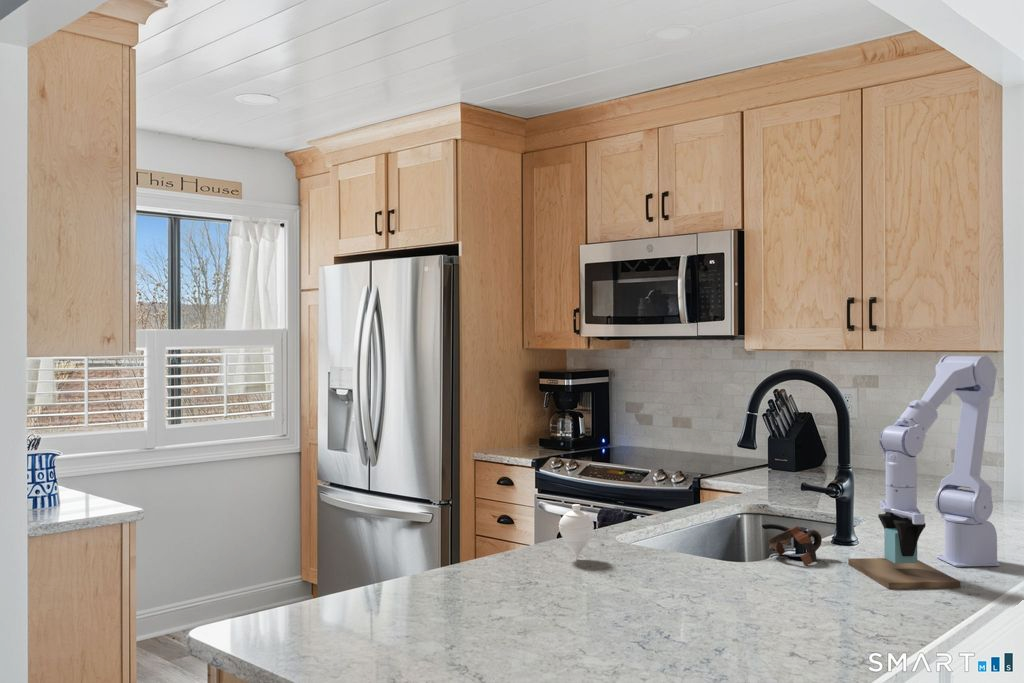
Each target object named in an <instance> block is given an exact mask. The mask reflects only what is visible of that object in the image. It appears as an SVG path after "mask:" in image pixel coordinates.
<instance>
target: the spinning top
mask: <svg viewBox="0 0 1024 683" xmlns="http://www.w3.org/2000/svg"><path fill="white" fill-rule="evenodd" d="M581 506H582V505H581V504H577V503H573V504H571V510H570V511H567V512H566V513H564V514H563V516H562V517H561V518H560V520H559V522H558V529H559V533H560V535H561V537H562V539H563V541H564V543H565V544H566V546H567V547H568V548H569V549H570V551H571V552H572V553H573V554H574V556H575V559H576V558H577V559H578V555H580V554H581V552H582V551H583V550H584V549H585V547H586V545H587V544H588V542H589V541H590V540H591V537H592V536H593V533H594V528H595V525H594V521H593V519H592V518H591V516H590V515H589V514H588V513H587V512H585V511H582V510H581Z"/></svg>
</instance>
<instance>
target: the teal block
mask: <svg viewBox="0 0 1024 683" xmlns="http://www.w3.org/2000/svg"><path fill="white" fill-rule="evenodd" d="M883 529H884V535H883V536H884V558H886V559H888V560H890V561H892V562H893V563H917V560H918V544H917V545H916V549H915V553H914V556H902V554H901V549H900V541H899V535H898V532H897V529H896V528H884V527H883Z"/></svg>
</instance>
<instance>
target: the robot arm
mask: <svg viewBox="0 0 1024 683" xmlns="http://www.w3.org/2000/svg"><path fill="white" fill-rule="evenodd" d="M996 380H997V367H996V365H995V363H994V362H993V360H992V359H991V358H990V357H989V356H987V355H980V356H979V355H976V356H975V355H973V356H972V355H951V354H945V355H943V356H942V357H941V358H940V359H939V361H938V363H936V365H935V377H934V378H933V380H932V381H931V382H930V384H929V386H928V388H927V390H926V391H925V393H924V394H923V396H922V397H921V399H914V400H913V401H910V403H909V404H908V406H907V407H906V409H905V410H904V412H902V414H901V415H900V416H899V417H898V418H897V420H896V421H895V423H894V424H893V425H888V426H886V427H884V428H883V429H882V431H881V433H880V435H879V439H878V440H877V441H878V446H879V449H880V450H881V451H882V459H883V462H884V463H885V500H879V510H880V511H881V512H884V513H879V514H878V519H879V521H880V523H881V525H882V527H883V529H884V528H896V529H897V532H898V535H899V541H900V549H901V554H902V556H914V553H915V549H916V545H917V546H918V541H919V539H920V536H921V534H922V532H923V530H924V529H926V522H925V520H926V519H925V513H922V512H921V511H920V510H919V508H918V494H917V492H918V488H917V487H918V484H917V482H918V481H917V480H918V479H917V476H918V475H917V474H918V473H917V470H918V469H917V468H918V467H917V466H918V465H917V456H918V455H919V454H920V453H921V452H922V451H923V449H924V443H925V440H926V437H927V435H926V433H927V432H928V431H930V428H931V427H932V426H933V424H934V423H935V422H936V420H937V419H938V417H939V416H938V415H939V414H938V411H937V409H938V408H939V407H940V406H941V405H942V404H943V403H944V402H945V401H946V400H947V399H948V398H949V397H950V395H951V394H953V395H956V396H958V397H959V400H960V401H961V404H960V405H961V408H960V412H959V413H960V414H959V422H958V430H957V436H956V444H955V451H954V460H953V466H952V472H951V473H949V474H948V475H946V476H945V477H943V478H942V479H941V480H940V484H939V488H938V490H937V492H936V494H935V497H934V504H935V508H936V510H937V512H938V513H939V514H940V515H941V516H940V517H941V519H943V520H944V554H937V555H936V558H937V559H940V560H941V561H944V562H945V563H948V564H950V565H952V566H954V567H957V568H958V567H999V566H1000V563H999V562H998V534H997V530H996V527H995V525H994V524H993V523H992V522H991V521H990V520H988V519H989V518H990V517H991V515H992V513H993V510H994V509H993V508H994V504H993V499H992V491H993V488H992V487H991V486H990V485H989V484H988V483H987V482H986V481H985V480H984V479H983V478H982V477H981V472H982V466H983V465H982V464H983V459H984V458H983V457H984V450H985V449H984V448H985V441H986V433H987V428H988V427H987V426H988V419H989V418H988V417H989V410H990V403H991V397H993V396H994V394H995V389H996V388H995V387H996ZM962 488H965V489H962ZM970 489H971V490H970Z"/></svg>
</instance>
